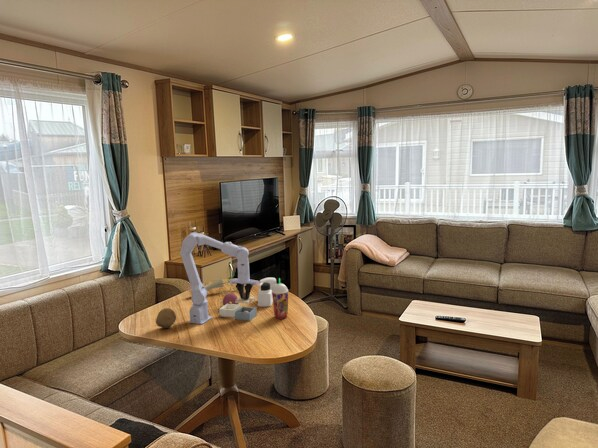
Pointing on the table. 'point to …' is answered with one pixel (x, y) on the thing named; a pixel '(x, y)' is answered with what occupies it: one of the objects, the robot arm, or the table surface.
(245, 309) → the slate pot
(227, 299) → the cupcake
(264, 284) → the medicine bottle
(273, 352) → the table surface
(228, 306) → the cream pot
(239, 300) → the lid
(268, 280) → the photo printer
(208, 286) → the flower vase
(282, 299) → the smoothie
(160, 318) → the natural sponge
